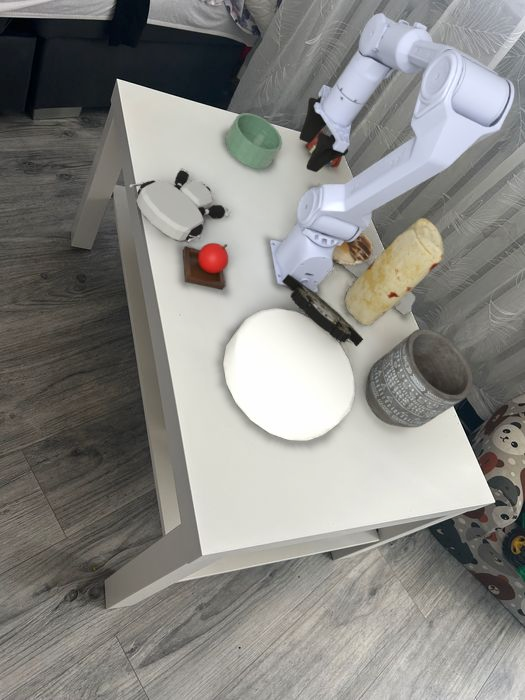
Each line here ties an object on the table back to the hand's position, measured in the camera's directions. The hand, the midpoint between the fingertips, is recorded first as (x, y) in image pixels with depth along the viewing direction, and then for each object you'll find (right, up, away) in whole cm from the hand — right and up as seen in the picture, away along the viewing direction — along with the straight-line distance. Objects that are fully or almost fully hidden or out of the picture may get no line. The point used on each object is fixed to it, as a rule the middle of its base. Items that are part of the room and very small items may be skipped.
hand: (307, 154), depth 106 cm
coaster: (-17, -22, -14) cm, 32 cm away
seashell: (+7, -16, -3) cm, 18 cm away
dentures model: (+1, +9, +17) cm, 19 cm away
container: (-5, -39, -18) cm, 43 cm away
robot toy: (-22, -13, -10) cm, 28 cm away
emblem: (+2, -27, -6) cm, 28 cm away
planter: (+12, -43, -10) cm, 46 cm away
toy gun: (+14, -10, +13) cm, 22 cm away
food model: (+9, -27, 0) cm, 29 cm away
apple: (-17, -22, -14) cm, 31 cm away
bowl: (-11, +4, +9) cm, 14 cm away
